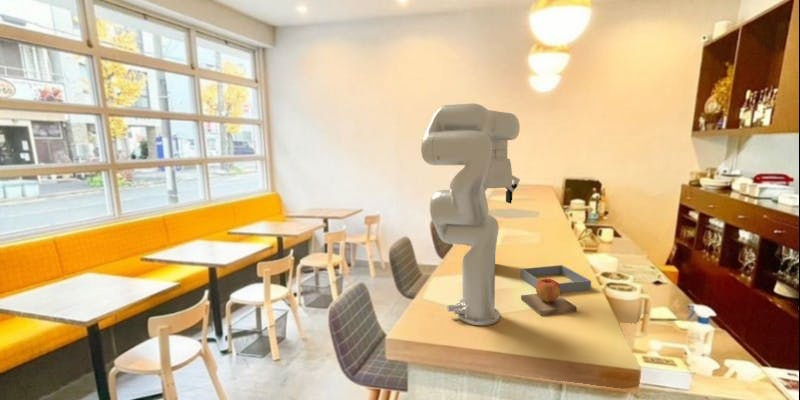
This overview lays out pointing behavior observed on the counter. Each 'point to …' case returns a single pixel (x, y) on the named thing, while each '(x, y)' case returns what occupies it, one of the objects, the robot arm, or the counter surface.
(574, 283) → the bin
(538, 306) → the board
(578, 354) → the counter surface
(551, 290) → the apple
